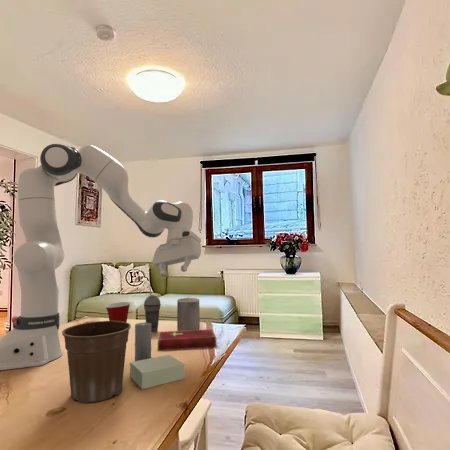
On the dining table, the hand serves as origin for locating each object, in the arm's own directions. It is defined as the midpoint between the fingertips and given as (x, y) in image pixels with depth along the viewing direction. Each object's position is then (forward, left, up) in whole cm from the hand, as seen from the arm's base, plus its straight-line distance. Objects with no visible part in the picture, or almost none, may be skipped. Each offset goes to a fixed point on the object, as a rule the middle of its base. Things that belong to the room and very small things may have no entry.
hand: (173, 273), depth 121 cm
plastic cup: (-9, +39, -27) cm, 48 cm away
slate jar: (-14, -7, -27) cm, 31 cm away
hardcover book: (+7, +4, -28) cm, 29 cm away
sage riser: (-15, -21, -27) cm, 37 cm away
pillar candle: (+16, +20, -27) cm, 38 cm away
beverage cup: (+3, +29, -27) cm, 40 cm away
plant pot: (-31, -22, -27) cm, 46 cm away
